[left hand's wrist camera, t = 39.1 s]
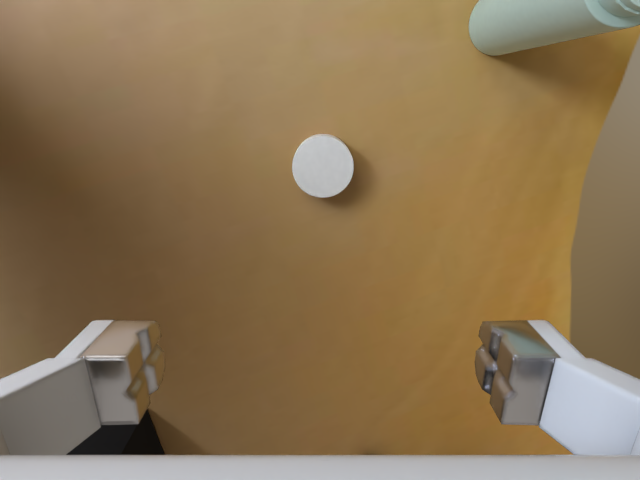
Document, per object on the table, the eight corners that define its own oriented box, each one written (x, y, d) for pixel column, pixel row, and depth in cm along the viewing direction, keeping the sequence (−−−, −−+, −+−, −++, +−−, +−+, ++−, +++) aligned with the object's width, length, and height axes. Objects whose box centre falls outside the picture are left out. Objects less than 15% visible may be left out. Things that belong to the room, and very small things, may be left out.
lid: (330, 121, 35) (330, 123, 33) (363, 170, 36) (365, 175, 35) (281, 156, 36) (279, 160, 34) (315, 203, 38) (315, 209, 36)
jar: (539, 25, 32) (747, -40, 17) (490, 68, 33) (641, 46, 18) (506, -26, 31) (697, -148, 15) (456, 21, 32) (586, -48, 17)
